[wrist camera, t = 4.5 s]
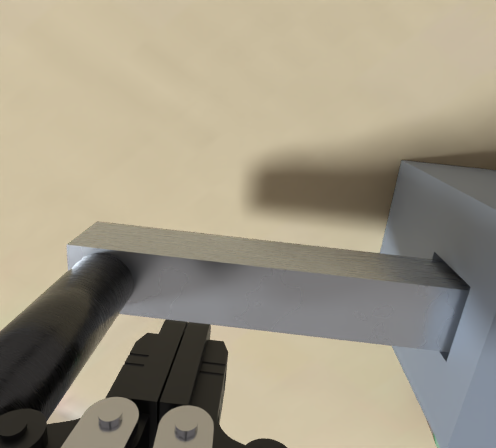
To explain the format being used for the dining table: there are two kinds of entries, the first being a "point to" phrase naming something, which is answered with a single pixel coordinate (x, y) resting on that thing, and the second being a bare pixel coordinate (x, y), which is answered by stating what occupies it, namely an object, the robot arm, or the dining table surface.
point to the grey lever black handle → (219, 299)
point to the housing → (477, 304)
